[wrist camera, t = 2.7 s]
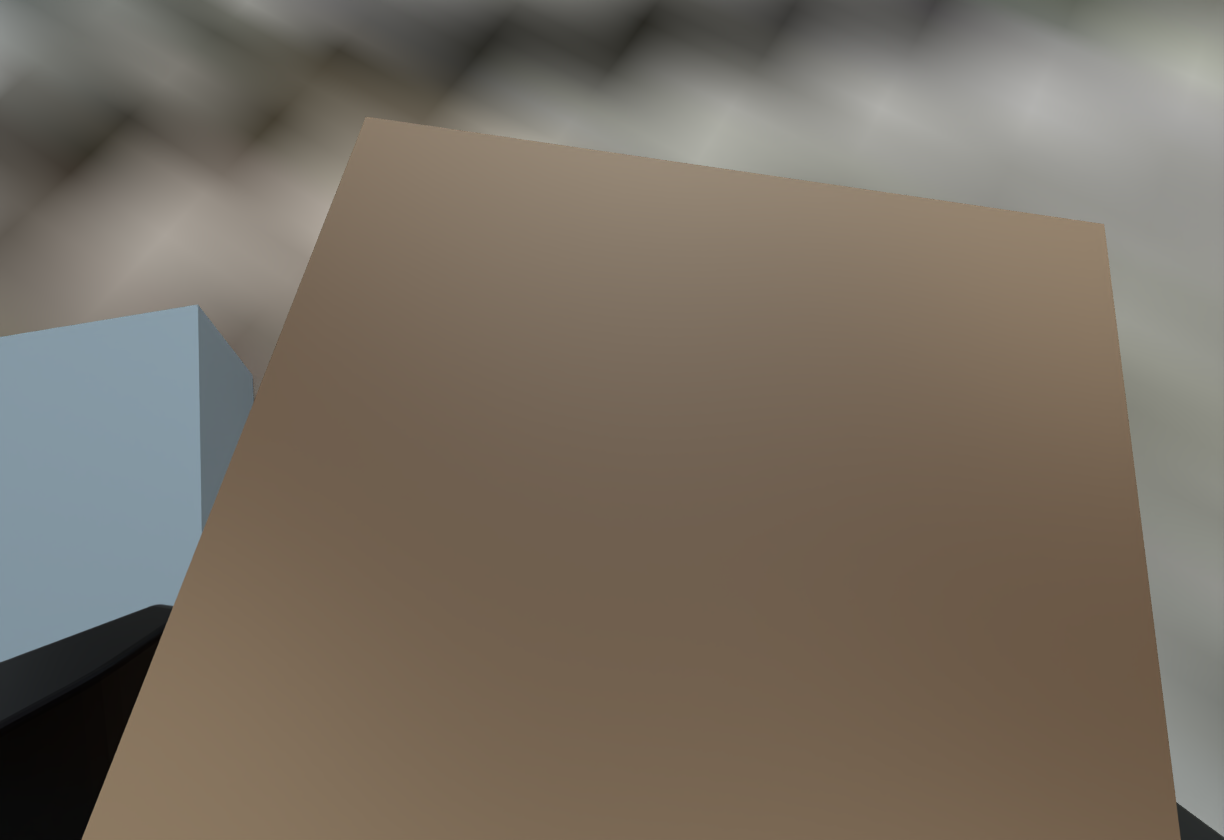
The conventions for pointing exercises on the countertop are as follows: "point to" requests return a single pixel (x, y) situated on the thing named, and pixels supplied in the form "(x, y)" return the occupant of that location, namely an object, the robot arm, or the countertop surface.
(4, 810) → the robot arm
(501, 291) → the walnut block
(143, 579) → the plinth
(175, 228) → the countertop surface
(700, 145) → the countertop surface
